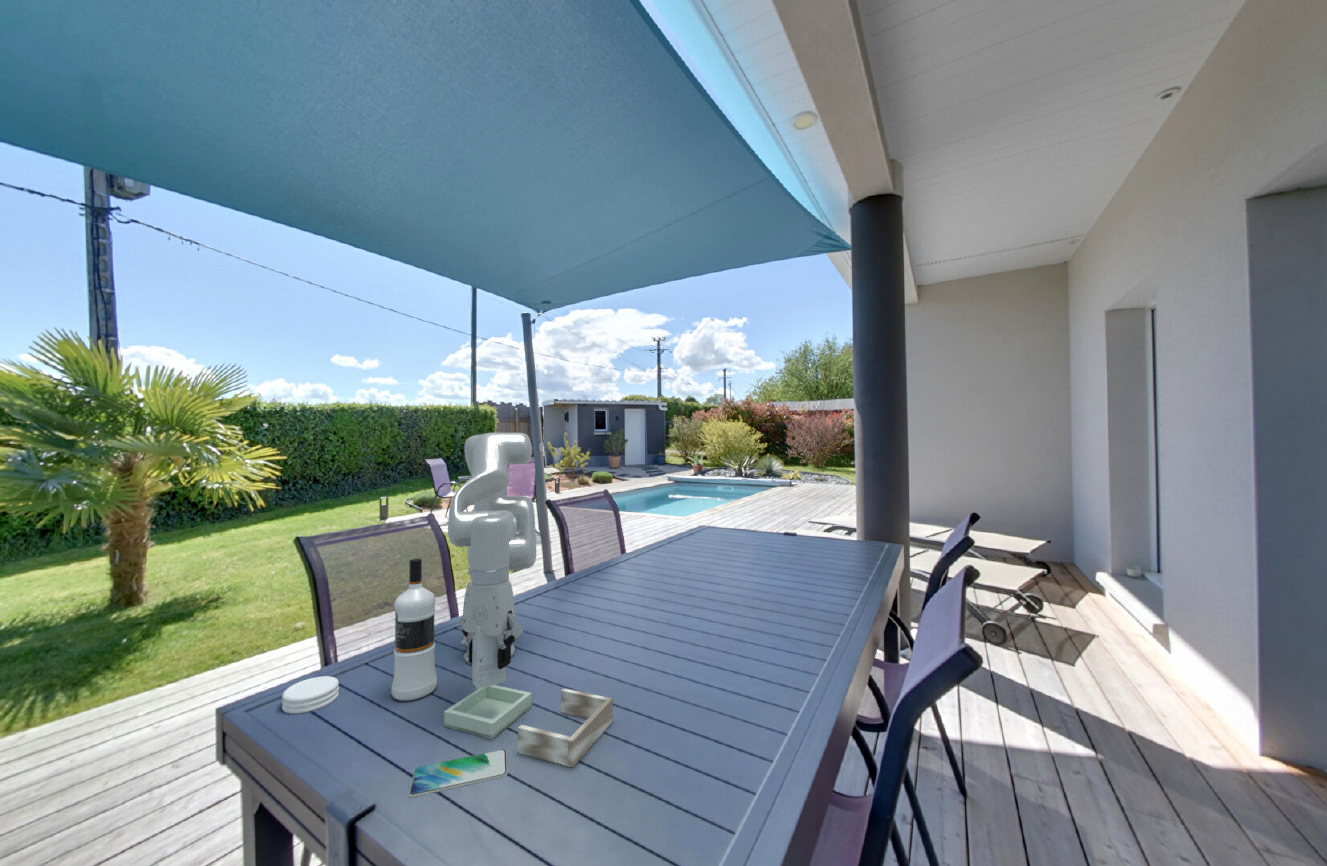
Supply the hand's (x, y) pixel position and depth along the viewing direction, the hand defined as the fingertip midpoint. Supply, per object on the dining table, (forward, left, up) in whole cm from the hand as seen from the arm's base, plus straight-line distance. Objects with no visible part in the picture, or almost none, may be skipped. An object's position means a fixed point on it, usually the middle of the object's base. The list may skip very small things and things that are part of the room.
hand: (489, 662), depth 99 cm
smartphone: (+7, -15, -12) cm, 20 cm away
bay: (+19, 0, -11) cm, 22 cm away
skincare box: (0, 0, -4) cm, 4 cm away
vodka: (-23, +2, -11) cm, 26 cm away
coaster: (-41, -9, -11) cm, 44 cm away
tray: (0, 0, -11) cm, 11 cm away
